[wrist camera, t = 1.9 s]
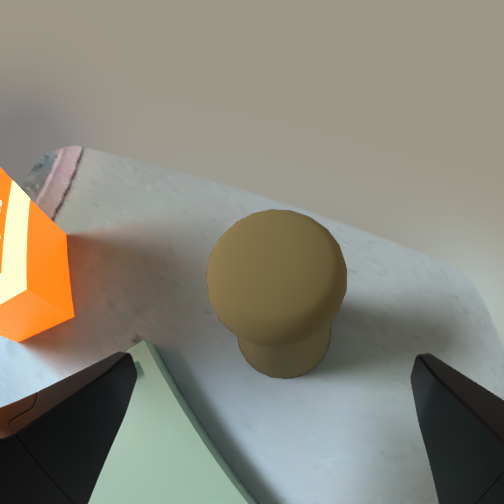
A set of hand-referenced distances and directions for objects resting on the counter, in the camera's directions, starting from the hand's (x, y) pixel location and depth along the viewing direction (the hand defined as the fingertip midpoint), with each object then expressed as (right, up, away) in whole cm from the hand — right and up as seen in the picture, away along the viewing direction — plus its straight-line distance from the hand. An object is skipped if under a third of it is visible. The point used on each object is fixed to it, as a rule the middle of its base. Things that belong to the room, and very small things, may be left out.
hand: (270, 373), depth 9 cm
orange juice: (-20, 0, +15) cm, 25 cm away
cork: (+2, -2, +11) cm, 11 cm away
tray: (-9, -12, +7) cm, 17 cm away
